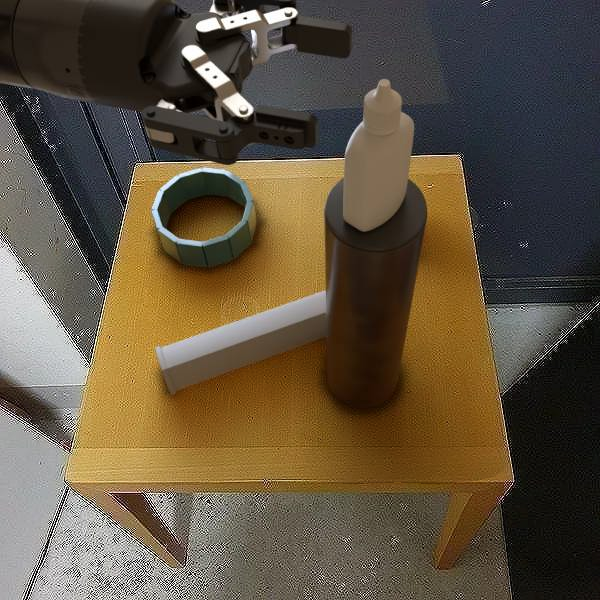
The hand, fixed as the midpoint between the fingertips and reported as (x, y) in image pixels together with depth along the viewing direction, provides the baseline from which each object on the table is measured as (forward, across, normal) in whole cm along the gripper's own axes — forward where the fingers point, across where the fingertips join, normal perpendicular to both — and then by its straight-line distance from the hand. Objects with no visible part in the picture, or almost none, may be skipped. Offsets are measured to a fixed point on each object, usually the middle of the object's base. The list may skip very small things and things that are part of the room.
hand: (335, 85), depth 44 cm
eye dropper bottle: (+3, 0, +12) cm, 12 cm away
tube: (-8, +2, +42) cm, 42 cm away
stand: (+3, 0, +41) cm, 42 cm away
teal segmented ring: (-21, +16, +41) cm, 49 cm away
